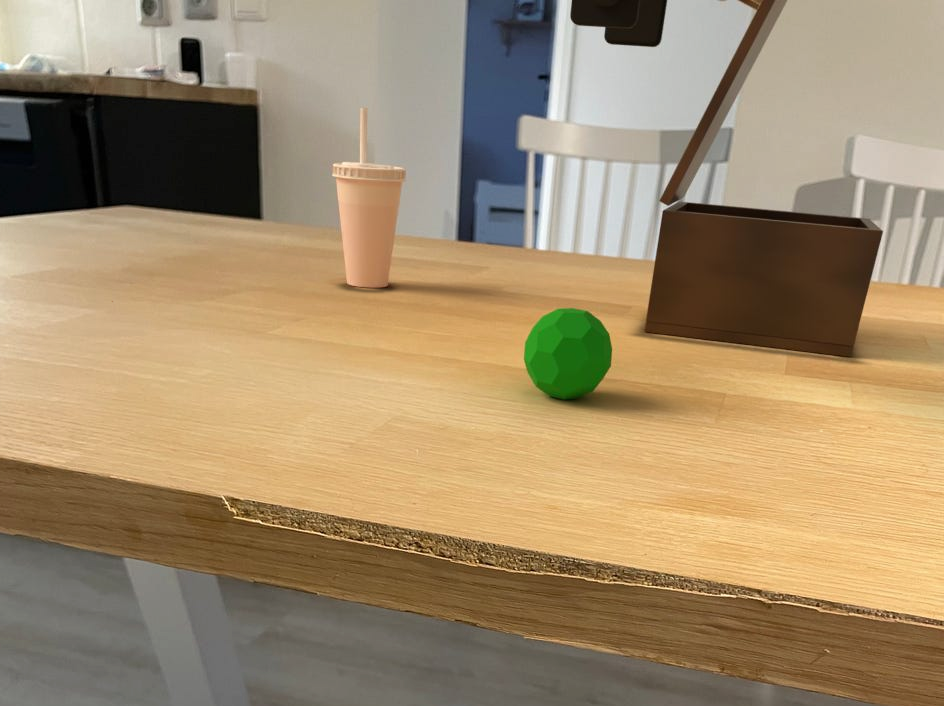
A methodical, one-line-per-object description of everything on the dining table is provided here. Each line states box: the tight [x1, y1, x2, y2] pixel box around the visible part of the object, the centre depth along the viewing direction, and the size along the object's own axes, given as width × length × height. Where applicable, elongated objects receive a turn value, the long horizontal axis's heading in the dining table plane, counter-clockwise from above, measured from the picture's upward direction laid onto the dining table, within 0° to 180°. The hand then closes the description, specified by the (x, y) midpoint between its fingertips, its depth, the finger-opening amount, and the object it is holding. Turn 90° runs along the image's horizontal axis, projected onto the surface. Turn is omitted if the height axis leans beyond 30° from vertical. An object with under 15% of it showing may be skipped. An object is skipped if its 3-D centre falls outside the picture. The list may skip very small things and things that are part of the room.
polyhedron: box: [523, 307, 613, 400], centre depth 54 cm, size 5×5×5 cm
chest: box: [644, 200, 884, 358], centre depth 76 cm, size 16×13×9 cm
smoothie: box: [331, 107, 407, 289], centre depth 83 cm, size 6×6×14 cm
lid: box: [659, 0, 788, 207], centre depth 71 cm, size 16×13×5 cm
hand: (618, 36), depth 50 cm, fingers open, 9 cm apart
